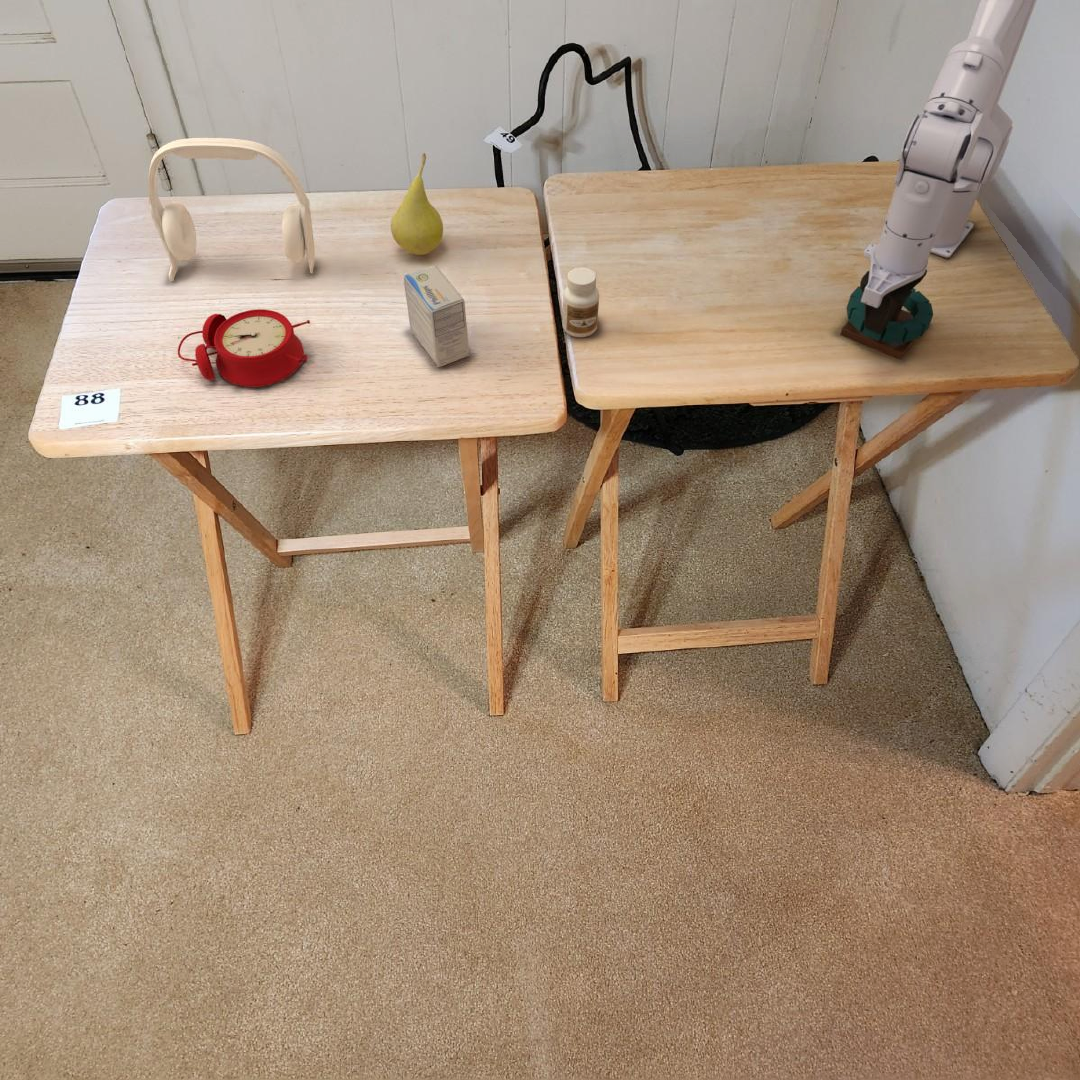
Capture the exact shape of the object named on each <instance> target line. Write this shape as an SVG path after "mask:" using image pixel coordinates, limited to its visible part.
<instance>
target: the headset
mask: <svg viewBox="0 0 1080 1080" xmlns="http://www.w3.org/2000/svg"><path fill="white" fill-rule="evenodd" d="M170 154H174V155H175V156H176V157H179V158H182V159H195V160H196V159H201V160H203V159H205V160H207V159H209V160H210V159H211V160H212V159H215V160H235V161H237V160H238V161H250V160H254V159H256V158H257V156H258V155H259V156H260V157H262V158H265V159H266V160H268V161H269V162H271V163H272V164H273V165H274V166H275V167H276V168H277V169H278V170H279V171H280V172H281V173H282V175H283V176H284V177H285V179H286V180H287V182H288V183H289V185H290V187H291V188H292V190H293V192H294V194H295V197H296V198H297V200H298V202H299V205H298V204H295V203H291V204H289V205H287V206H286V207H285V209H284V211H283V215H282V223H281V237H282V238H281V239H282V246H283V247H282V248H283V252H284V254H285V257H286V258H287V260H288V261H290V262H291V263H295V264H296V263H300V262H302V261H303V260H304V258H305V256H306V258H307V261H308V265H309V266H308V268H309V273H310V274H313V273H314V266H315V258H316V252H315V251H316V250H315V241H314V232H313V223H312V222H313V221H312V212H311V207H310V206H311V205H310V200H309V198H308V196H307V194H306V192H305V189H304V188H303V186H302V183H301V182H300V180H299V178H298V176H297V174H296V173H295V171H294V169H293V168H292V167H291V165H290V164H289V163H288V162H287V160H286V159H285V158H284V157H283V156H282V155H281V154H280V153H278V152H277V151H276V150H274V149H273V148H271V147H269V146H267V145H265V144H263V143H260V142H257V141H252V140H247V139H241V138H226V137H190V138H181V139H176V140H173V141H170V142H168V143H166V144H164V145H162V146H161V147H160V148H159V149H157V150H156V152H155V153H154V155H153V157H152V158H151V162H150V165H149V168H148V169H149V170H148V182H147V183H148V187H147V188H148V189H147V190H148V204H149V212H150V216H151V218H152V221H153V223H154V226H155V229H156V231H157V233H158V235H159V238H160V240H161V243H162V245H163V247H164V249H165V252H166V254H167V257H168V260H169V264H170V265H169V266H170V268H169V271H168V279H169V281H170V282H174V281H175V277H176V275H177V271H178V268H179V263H180V261H188V260H190V259H192V258H193V257H194V255H195V254H196V250H197V232H196V228H195V227H196V226H195V223H194V220H193V217H192V215H191V213H190V211H189V210H188V208H187V207H186V206H185V205H184V204H183V203H181V202H178V201H171V202H169V203H167V204H166V205H165V206H164V205H163V203H162V201H161V199H160V197H159V196H158V186H157V185H158V182H157V180H158V172H159V171H158V170H159V167H160V163H161V162H162V160H163V159H164V158H165V157H167V156H168V155H170Z"/></svg>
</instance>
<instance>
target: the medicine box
mask: <svg viewBox="0 0 1080 1080" xmlns="http://www.w3.org/2000/svg"><path fill="white" fill-rule="evenodd" d="M403 285H404V292H405V298H406V306H407V314H408V315H407V316H408V320H409V328H410V333H412V335H413V336H414V337H415V339H416V340H417V341H418V342H419V344H420V345H421V346H422V348H423V349H424V350H425V352H426V353H427V355H429V357H430V358H431V359H432V361H433V362H434V363H435V365H436V366H437V368H441V367H443V366H446V365H449V364H451V363H454V362H456V361H459V360H461V359H465V358H467V357H470V347H469V337H468V336H469V335H468V324H467V323H468V322H467V313H466V304H465V303H466V302H465V299H464V298H463V296H461V293H459V292H458V290H457V289H456V288H455V287H454V286H453V285H452V283H451V282H450V281H449V280H448V279H447V277H446V276H445V275H444V274H443V272H442V271H441V270H440V269H439V268H438V266H437V265H432V266H427V267H425V268H421V269H418V270H416V271H415V270H414V271H412V272H410V273H407V274H405V275H403Z"/></svg>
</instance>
